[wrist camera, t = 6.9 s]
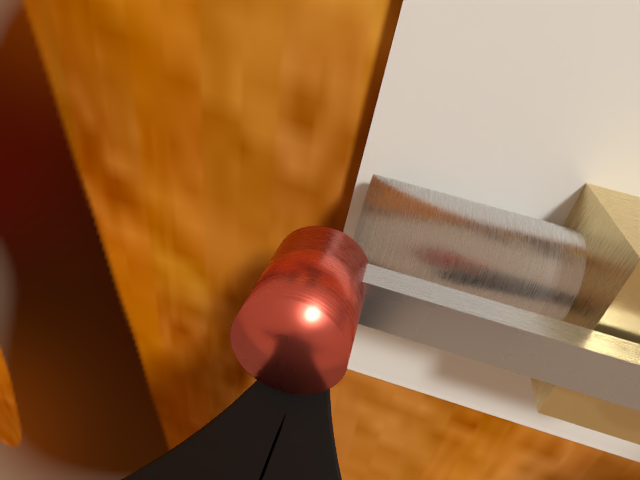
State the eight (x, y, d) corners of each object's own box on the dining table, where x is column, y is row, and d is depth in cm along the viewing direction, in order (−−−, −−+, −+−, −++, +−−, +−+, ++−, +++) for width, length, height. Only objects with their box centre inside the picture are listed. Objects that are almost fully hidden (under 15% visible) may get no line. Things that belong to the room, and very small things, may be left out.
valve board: (1185, 106, 11) (1249, 116, 10) (749, 478, 18) (764, 502, 18) (422, -64, 12) (420, -68, 12) (316, 341, 20) (310, 356, 19)
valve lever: (784, 359, 10) (902, 489, 7) (715, 429, 11) (795, 561, 9) (283, 214, 11) (236, 283, 9) (269, 291, 12) (224, 372, 10)
